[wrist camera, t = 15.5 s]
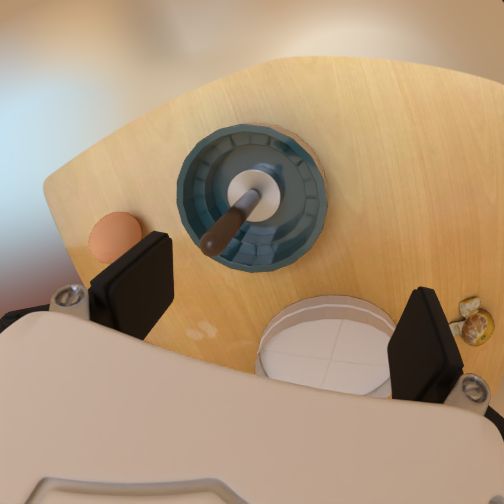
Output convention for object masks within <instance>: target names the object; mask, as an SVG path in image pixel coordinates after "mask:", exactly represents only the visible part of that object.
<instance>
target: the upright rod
mask: <svg viewBox="0 0 504 504" xmlns="http://www.w3.org/2000/svg"><path fill="white" fill-rule="evenodd" d="M283 194H284V190H283V185H282V182H281V180H280V178H279V177H278V176H277V175H276V174H275V173H274V172H273V171H272V170H270V169H268V168H266V167H262V166H252V167H248V168H246V169H244V170H243V171H241V172H240V173H238V174H237V175H236V176H235V177H234V178H233V179H232V180H231V182H230V184H229V186H228V191H227V197H228V202H229V205H230V207H231V208H230V209H229V210H228V211H227V212H226V213H225V214H224V215H223V216H222V217H221V218H220V219H219V220H218V221H217V222H216V223H215V224H214V225H213V226H212V227H211V228H210V229H209V230H208V231H207V232H206V233H205V234H204V235H203V236H202V238H201V240H200V249H201V251H202V252H203V253H204V254H205V255H206V256H209V257H216V256H219V255H220V254H221V253H222V252H223V251H224V249H225V248H226V247H227V245H228V244H229V243H230V241H231V240H232V239H233V237H234V236H235V234H236V233H237V232H238V230H239V229H240V228H241V226H242V225H243V224H244V222H245V221H246V220H247V221H250V222H261V221H265V220H267V219H269V218H270V217H272V216H273V215H274V214H275V213H276V211H277V210H278V208H279V206H280V204H281V202H282V199H283Z"/></svg>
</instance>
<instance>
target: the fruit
mask: <svg viewBox="0 0 504 504" xmlns="http://www.w3.org/2000/svg"><path fill="white" fill-rule="evenodd" d="M480 303H481V301H480V299H479V298H478V297H474V298H472V299H466V300H464V301H462V302H460V304H459V305H460V306H459V309H460V312H461V315H462V316H464V317H465V318H466V320H465V321H464V322H462V321H460V322H455V323H454V322H453V323H451V324H449V326H450V329H451V331H452V334H453V336H454V337H455V336H457V335H462V338H463V340H464V341H465V342H466V343H467V344H469V345H471V346H480V345H482V344H483V343H485V342H486V341H487V340H488V339H489V338H490V337H491V335H492V334H493V331H494V327H495V324H494V320H493V318H492V316H491V315H490V314H489V313H488V312H487V311H486V310H485V311H484V310H483V309H481V310H480V311H479V310H478V307H479V305H480Z"/></svg>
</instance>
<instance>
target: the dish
mask: <svg viewBox="0 0 504 504" xmlns="http://www.w3.org/2000/svg"><path fill="white" fill-rule="evenodd" d="M395 328H396V325H395V323H394V321H393V320H392V319H391V318H390V317H389V316H388V315H387V314H386V313H385V312H384V311H383V310H382V309H380V308H379V307H377V306H375V305H373V304H371V303H370V302H368V301H365V300H362V299H358V298H354V297H350V296H340V295H324V296H318V297H313V298H307V299H304V300H301V301H299V302H297V303H294V304H292V305H290V306H287V307H286V308H285V309H283V310H282V311H281V312H279V313H278V314H277V315H276V316H274V317H273V318H272V320H271V321H270V323H269V324H268V325H267V327H266V328H265V330H264V332H263V336H262V339H261V342H260V346H259V349H258V356H257V360H256V363H255V373H256V375H260V376H264V377H268V378H272V379H277V380H281V381H286V382H290V383H295V384H300V385H305V386H310V387H315V388H321V389H326V390H332V391H338V392H344V393H351V394H357V395H364V396H372V397H380V398H387V397H388V396H389V395H391V393H392V390H391V380H390V371H389V363H388V355H387V346H388V343H389V340H390V338H391V336H392V334H393V332H394V330H395Z"/></svg>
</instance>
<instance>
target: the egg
mask: <svg viewBox="0 0 504 504" xmlns="http://www.w3.org/2000/svg"><path fill="white" fill-rule="evenodd" d="M141 238H142V231H141V227H140V224H139V222H138V221H137V220H136V219H135V218H134V217H133V216H132V215H130V214H128V213H125V212H114V213H111V214H108V215H106V216H105V217H103V218H102V219H100V220H99V221H98V222H97V224H96V225H95V226H94V228H93V230H92V232H91V234H90V237H89V242H88V243H89V251H90V253H91V255H92V256H93V257H94V258H95V259H96V260H97V261H99V262H101V263H105V264H112V263H113V262H114V261H116V260H117V259H118V258H119V257H120V256H122V255H123V254H124V253H125V252H127V251H128V250H129V249H131V248H132V247H133V246H134V245H136V244H137V243H138V242H139V241H141Z"/></svg>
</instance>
